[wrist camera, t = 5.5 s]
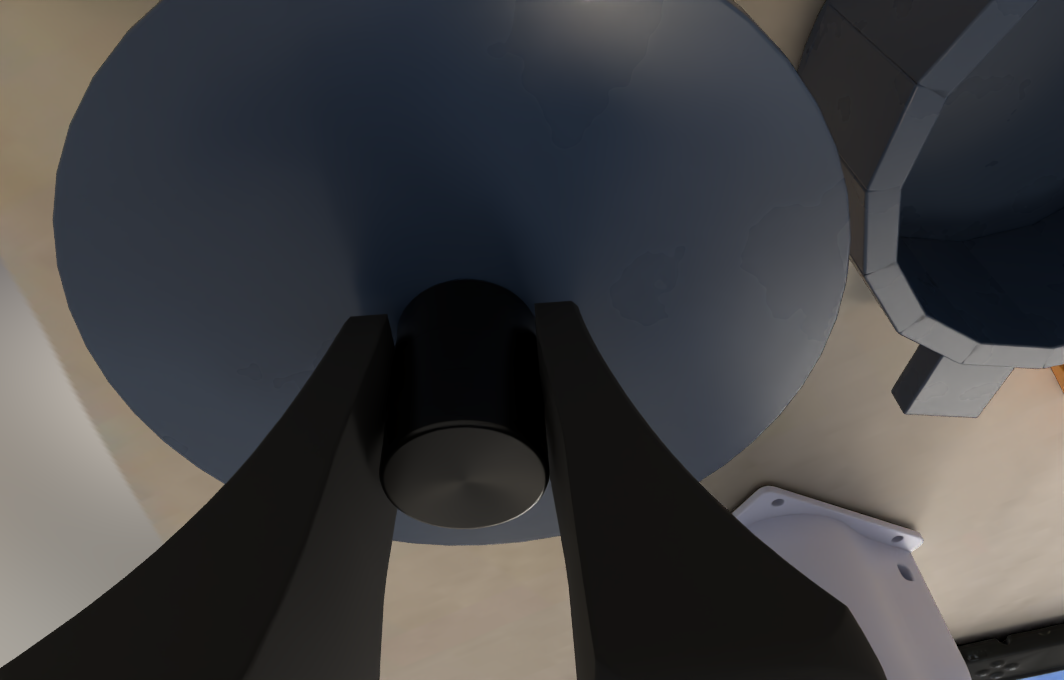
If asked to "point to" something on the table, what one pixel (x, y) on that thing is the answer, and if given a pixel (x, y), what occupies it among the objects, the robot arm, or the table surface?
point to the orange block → (1059, 374)
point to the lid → (452, 228)
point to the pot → (952, 181)
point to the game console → (1018, 656)
